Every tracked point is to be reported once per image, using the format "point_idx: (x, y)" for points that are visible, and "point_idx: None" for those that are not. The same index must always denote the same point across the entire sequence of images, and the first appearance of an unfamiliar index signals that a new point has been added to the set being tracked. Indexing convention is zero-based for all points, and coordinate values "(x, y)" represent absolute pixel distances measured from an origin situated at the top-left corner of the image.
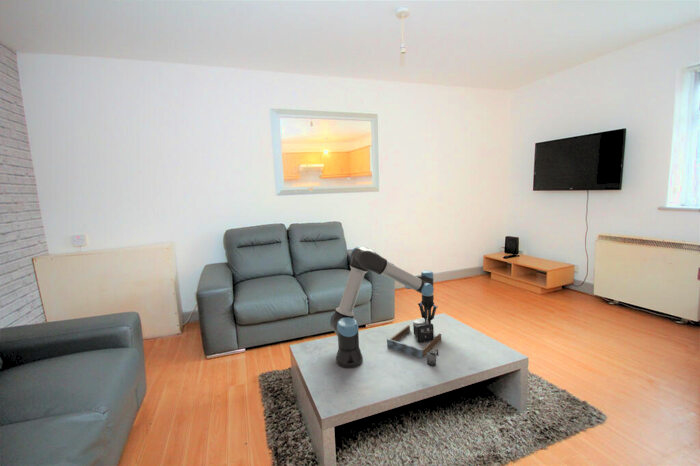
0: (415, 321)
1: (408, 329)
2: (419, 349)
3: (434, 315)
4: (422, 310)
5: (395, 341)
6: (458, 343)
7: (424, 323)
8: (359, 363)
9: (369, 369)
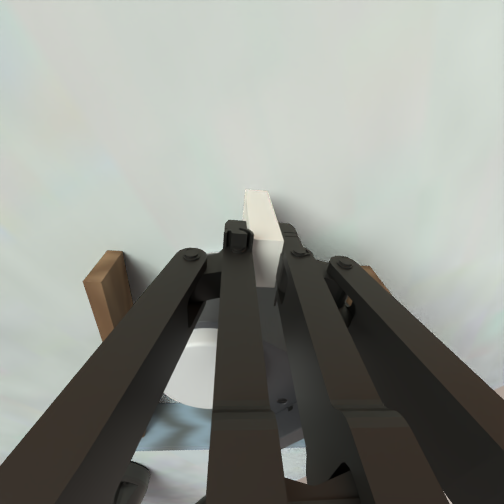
0: (178, 392)
1: (117, 283)
2: (302, 446)
3: (393, 299)
4: (156, 390)
5: (179, 448)
6: (478, 257)
7: (265, 359)
8: (148, 480)
9: (186, 471)
